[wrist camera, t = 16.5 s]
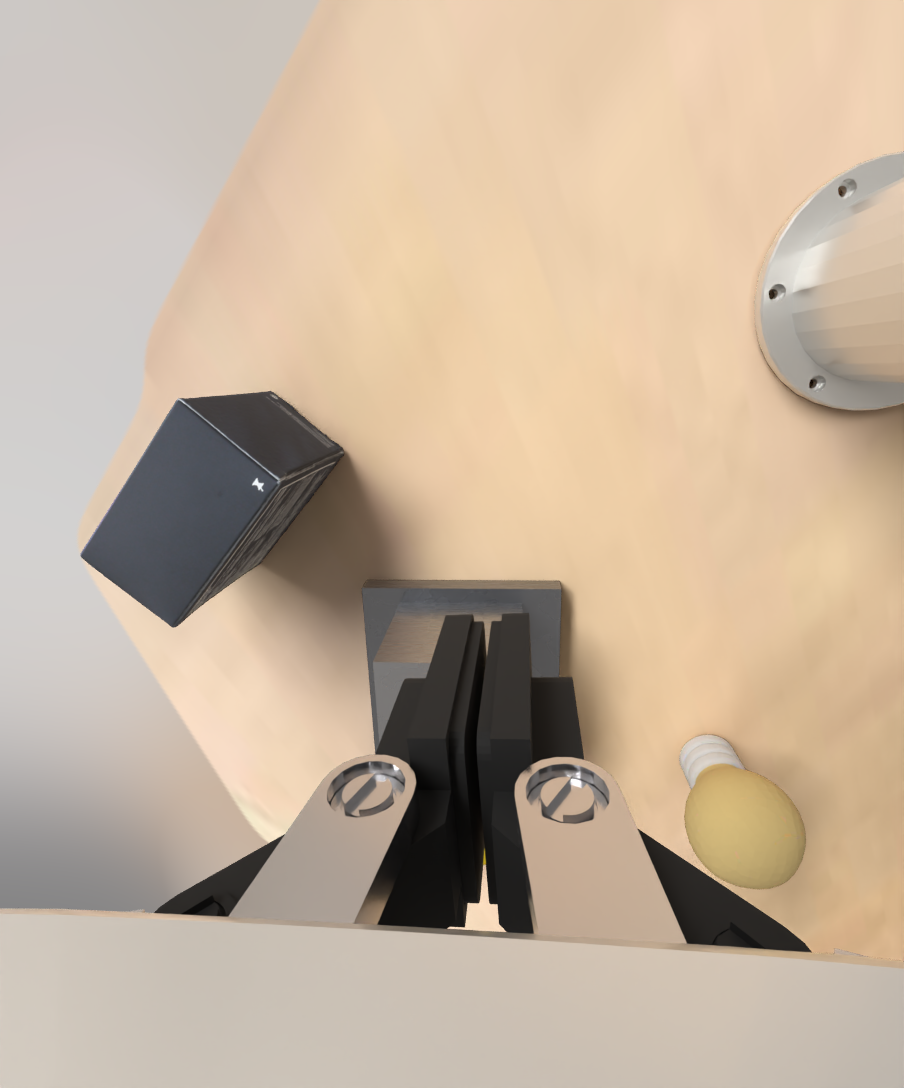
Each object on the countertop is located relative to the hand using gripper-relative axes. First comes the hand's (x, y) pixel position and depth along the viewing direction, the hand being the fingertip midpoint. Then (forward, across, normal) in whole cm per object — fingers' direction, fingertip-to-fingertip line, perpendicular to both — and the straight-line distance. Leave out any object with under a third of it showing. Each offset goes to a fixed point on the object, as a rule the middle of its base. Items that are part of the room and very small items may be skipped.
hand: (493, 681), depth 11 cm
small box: (+25, +17, 0) cm, 30 cm away
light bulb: (+26, -12, +22) cm, 36 cm away
